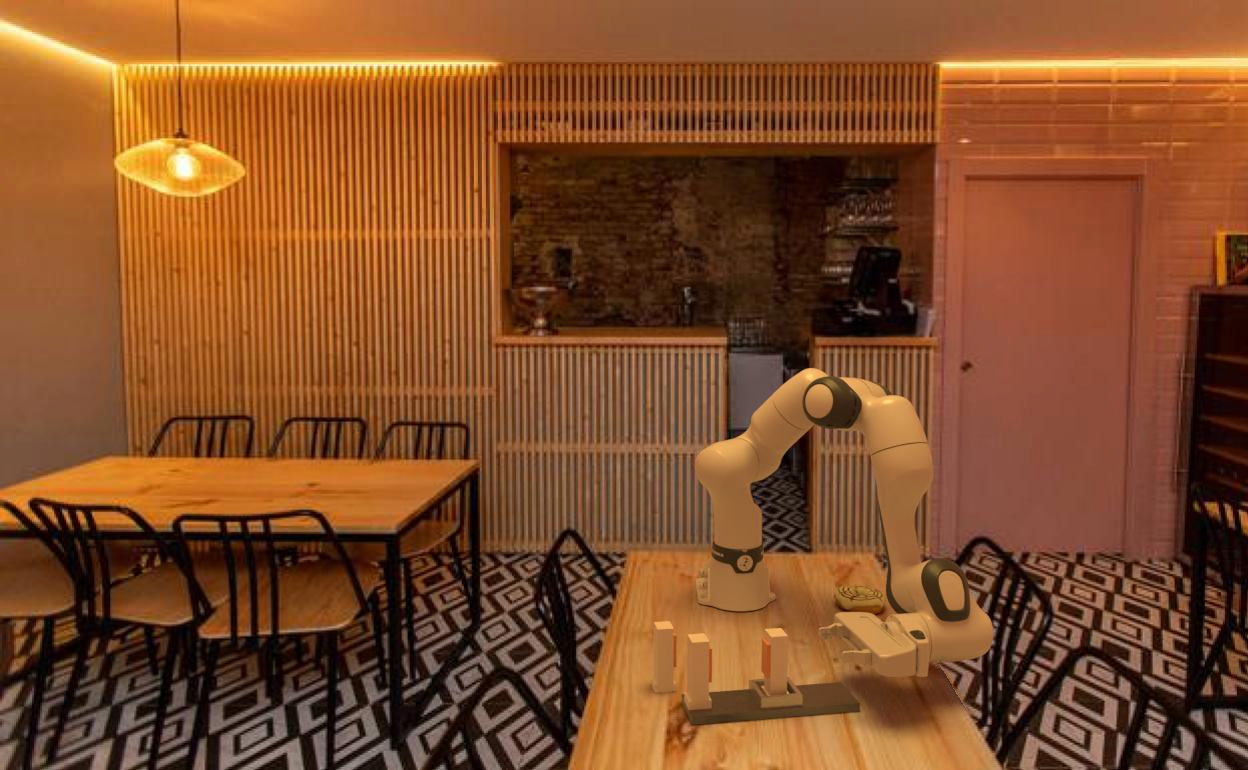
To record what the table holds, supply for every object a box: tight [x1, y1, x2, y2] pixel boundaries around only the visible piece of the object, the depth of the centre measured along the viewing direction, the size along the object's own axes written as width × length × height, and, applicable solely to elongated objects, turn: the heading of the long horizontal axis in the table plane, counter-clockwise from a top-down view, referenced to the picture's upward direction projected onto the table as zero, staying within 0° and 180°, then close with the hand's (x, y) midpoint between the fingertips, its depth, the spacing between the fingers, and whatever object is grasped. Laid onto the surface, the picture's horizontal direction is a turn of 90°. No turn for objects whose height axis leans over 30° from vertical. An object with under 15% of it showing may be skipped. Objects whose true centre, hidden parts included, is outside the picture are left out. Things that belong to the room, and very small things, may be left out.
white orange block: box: [650, 620, 678, 694], centre depth 153 cm, size 4×4×12 cm
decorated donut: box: [833, 584, 886, 615], centre depth 193 cm, size 11×12×4 cm
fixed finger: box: [683, 632, 713, 710], centre depth 144 cm, size 4×4×12 cm
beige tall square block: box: [760, 627, 789, 696], centre depth 146 cm, size 4×4×12 cm
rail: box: [680, 676, 861, 726], centre depth 147 cm, size 8×30×4 cm, turn 99°
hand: (830, 644), depth 147 cm, fingers open, 8 cm apart
